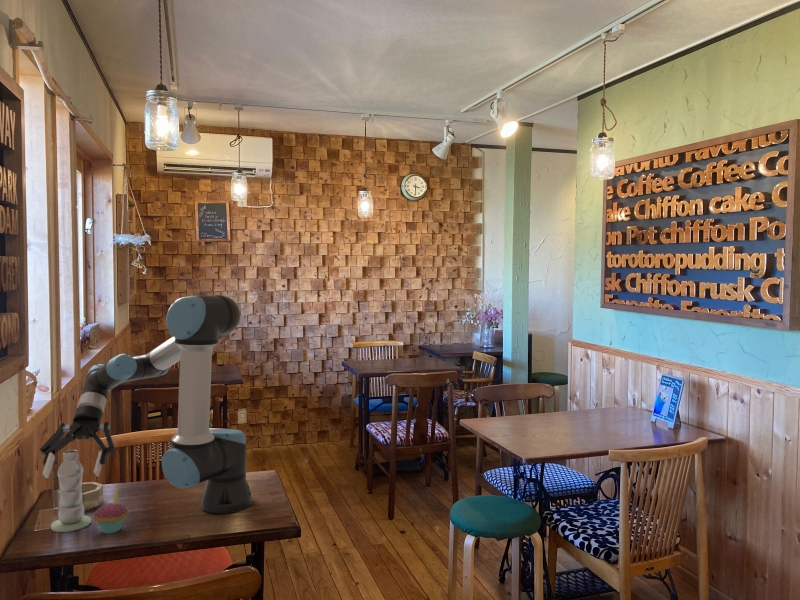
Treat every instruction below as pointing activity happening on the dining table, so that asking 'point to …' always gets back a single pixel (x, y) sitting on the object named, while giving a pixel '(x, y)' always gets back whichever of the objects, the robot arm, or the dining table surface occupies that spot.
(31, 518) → the dining table surface
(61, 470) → the plastic bottle
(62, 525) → the sage coaster
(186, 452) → the robot arm
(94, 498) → the birch collar
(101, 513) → the cupcake
